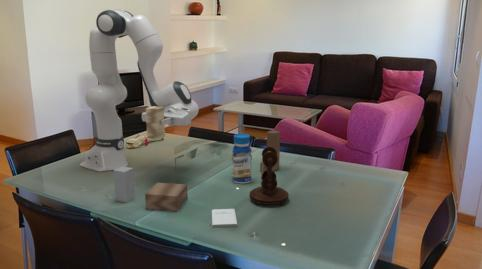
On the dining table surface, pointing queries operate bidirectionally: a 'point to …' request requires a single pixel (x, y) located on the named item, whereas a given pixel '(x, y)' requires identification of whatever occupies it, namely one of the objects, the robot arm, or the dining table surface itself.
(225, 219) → the external hard drive
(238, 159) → the beverage bottle
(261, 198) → the dark brown tall piece
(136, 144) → the cat figure
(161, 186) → the walnut base block
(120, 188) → the grey block
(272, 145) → the wooden block
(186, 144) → the dining table surface
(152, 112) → the maple block
